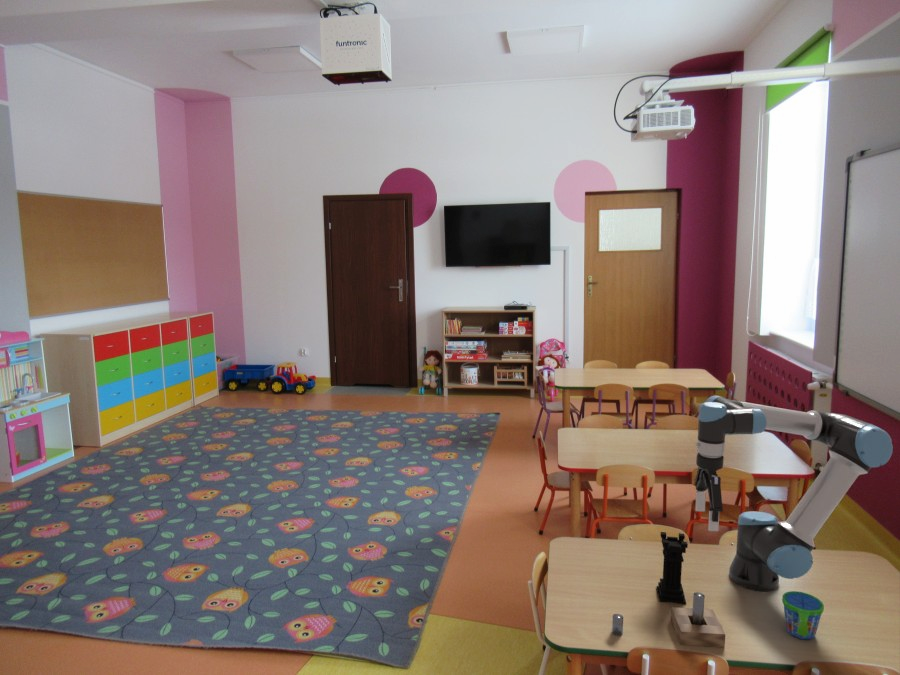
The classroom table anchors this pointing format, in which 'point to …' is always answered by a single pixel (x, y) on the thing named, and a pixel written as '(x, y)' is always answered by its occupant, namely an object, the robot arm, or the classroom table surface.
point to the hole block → (697, 628)
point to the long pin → (698, 608)
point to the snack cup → (802, 614)
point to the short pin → (617, 624)
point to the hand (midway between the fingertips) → (706, 520)
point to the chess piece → (672, 569)
